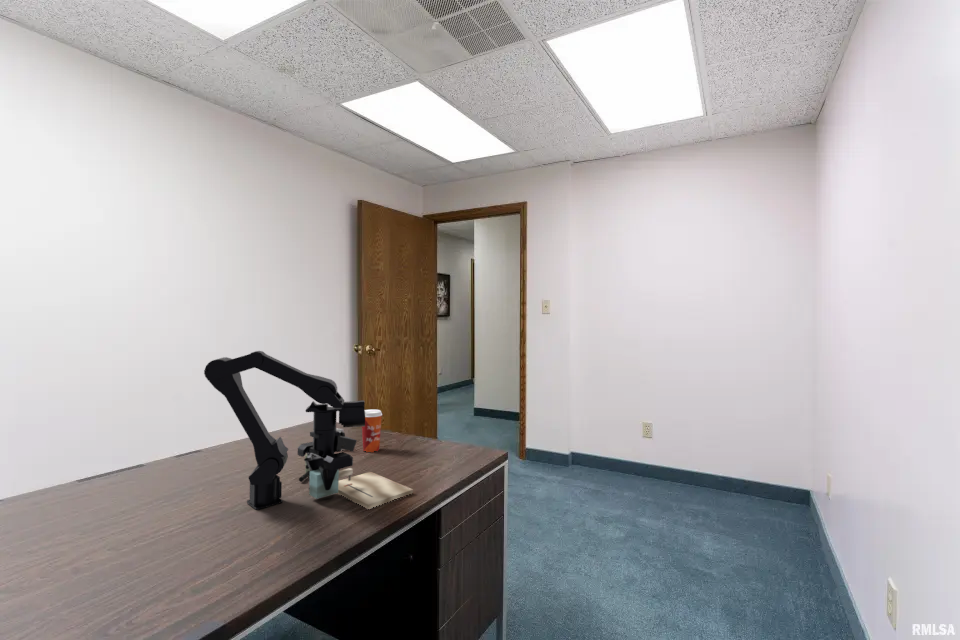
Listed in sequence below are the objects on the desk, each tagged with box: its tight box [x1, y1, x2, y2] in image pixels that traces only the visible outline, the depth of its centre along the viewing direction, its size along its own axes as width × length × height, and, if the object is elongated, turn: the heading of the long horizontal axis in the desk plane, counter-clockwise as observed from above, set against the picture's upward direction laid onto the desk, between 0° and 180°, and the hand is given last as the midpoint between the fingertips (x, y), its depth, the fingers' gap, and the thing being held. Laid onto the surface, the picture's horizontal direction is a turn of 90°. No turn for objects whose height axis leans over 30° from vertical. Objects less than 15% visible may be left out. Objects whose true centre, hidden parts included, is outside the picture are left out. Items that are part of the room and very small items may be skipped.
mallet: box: [308, 467, 354, 500], centre depth 119 cm, size 11×4×6 cm, turn 137°
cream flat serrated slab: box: [338, 471, 414, 510], centre depth 122 cm, size 14×20×1 cm
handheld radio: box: [298, 453, 310, 482], centre depth 140 cm, size 7×3×25 cm
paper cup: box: [361, 409, 383, 453], centre depth 160 cm, size 8×8×14 cm
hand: (323, 487), depth 117 cm, fingers closed on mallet, 4 cm apart
